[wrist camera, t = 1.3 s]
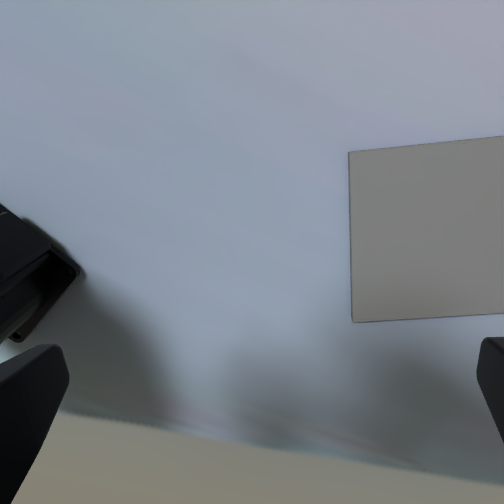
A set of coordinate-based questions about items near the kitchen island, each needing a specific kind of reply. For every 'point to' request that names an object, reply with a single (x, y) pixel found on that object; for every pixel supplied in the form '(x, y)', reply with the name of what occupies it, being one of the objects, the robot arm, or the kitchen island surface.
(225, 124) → the kitchen island surface
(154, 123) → the kitchen island surface
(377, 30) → the kitchen island surface
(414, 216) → the mat
